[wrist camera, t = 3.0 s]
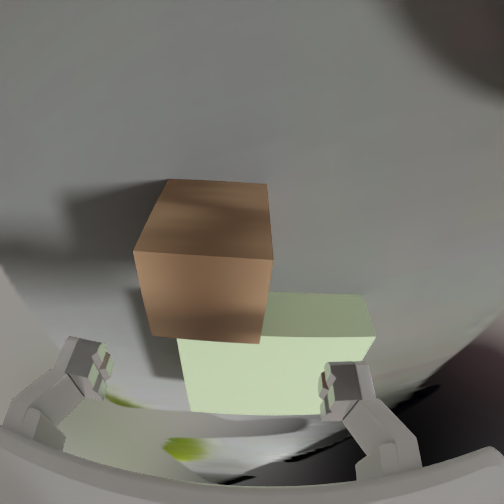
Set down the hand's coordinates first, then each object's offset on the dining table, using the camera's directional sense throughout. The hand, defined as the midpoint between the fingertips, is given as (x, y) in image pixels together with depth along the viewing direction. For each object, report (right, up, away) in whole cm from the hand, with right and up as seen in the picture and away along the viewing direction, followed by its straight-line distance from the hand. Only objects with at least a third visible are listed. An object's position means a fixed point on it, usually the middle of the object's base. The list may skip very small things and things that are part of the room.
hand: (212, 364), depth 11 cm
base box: (+3, -3, +14) cm, 14 cm away
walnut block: (-1, +6, +6) cm, 9 cm away
